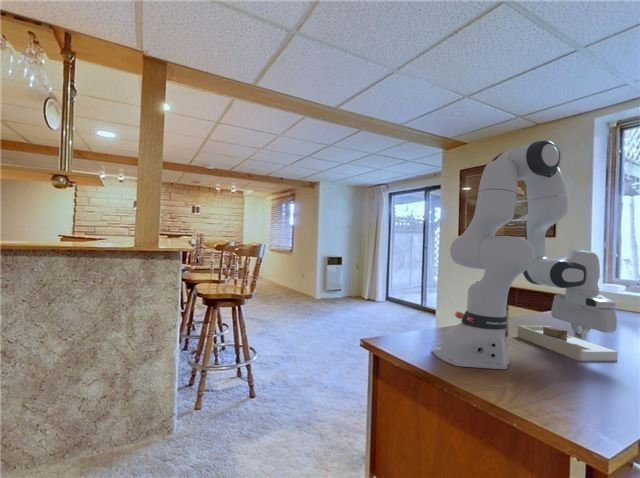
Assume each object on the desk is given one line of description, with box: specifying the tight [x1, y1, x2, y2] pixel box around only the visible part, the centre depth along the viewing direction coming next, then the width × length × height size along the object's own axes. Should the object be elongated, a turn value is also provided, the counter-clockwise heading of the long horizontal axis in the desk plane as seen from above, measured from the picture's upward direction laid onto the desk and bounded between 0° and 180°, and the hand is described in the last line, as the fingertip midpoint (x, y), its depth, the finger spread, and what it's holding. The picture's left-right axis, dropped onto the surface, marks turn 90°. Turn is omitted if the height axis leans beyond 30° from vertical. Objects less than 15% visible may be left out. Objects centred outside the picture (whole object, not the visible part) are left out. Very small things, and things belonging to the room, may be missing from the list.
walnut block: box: [543, 326, 568, 342], centre depth 118 cm, size 5×5×4 cm
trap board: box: [517, 325, 619, 362], centre depth 119 cm, size 15×26×4 cm, turn 9°
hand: (580, 338), depth 110 cm, fingers closed
